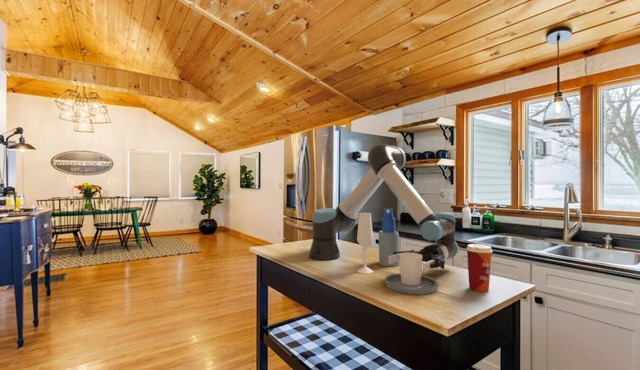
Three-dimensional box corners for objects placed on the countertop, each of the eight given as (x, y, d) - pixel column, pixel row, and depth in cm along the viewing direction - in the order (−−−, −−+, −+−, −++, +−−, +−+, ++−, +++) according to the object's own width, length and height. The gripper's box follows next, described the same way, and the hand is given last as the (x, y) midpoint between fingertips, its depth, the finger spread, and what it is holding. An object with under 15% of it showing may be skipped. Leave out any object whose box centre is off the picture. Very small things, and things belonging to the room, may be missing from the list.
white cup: (423, 286, 109) (423, 257, 109) (400, 285, 110) (400, 256, 110) (421, 280, 116) (421, 252, 116) (398, 278, 118) (398, 252, 118)
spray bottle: (398, 266, 137) (397, 209, 137) (377, 265, 140) (376, 209, 140) (400, 261, 146) (399, 207, 145) (380, 260, 149) (379, 207, 148)
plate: (377, 279, 120) (377, 275, 120) (419, 276, 124) (419, 271, 124) (400, 296, 102) (400, 291, 102) (448, 292, 107) (448, 286, 107)
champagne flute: (361, 267, 136) (361, 212, 136) (376, 270, 132) (376, 213, 132) (353, 271, 131) (353, 213, 130) (368, 274, 127) (368, 214, 126)
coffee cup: (490, 295, 104) (490, 249, 104) (463, 290, 109) (463, 246, 109) (494, 288, 111) (494, 245, 110) (468, 283, 116) (469, 242, 115)
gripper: (466, 269, 117) (440, 282, 102) (406, 257, 135) (376, 267, 120) (466, 249, 117) (440, 259, 102) (406, 240, 135) (376, 247, 120)
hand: (405, 263), depth 111 cm, fingers open, 13 cm apart
